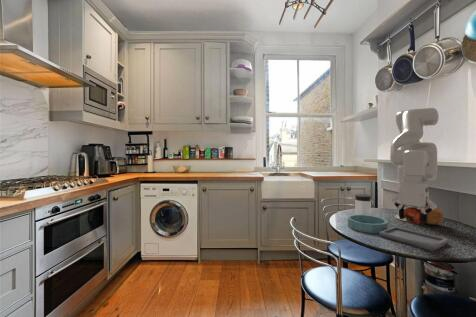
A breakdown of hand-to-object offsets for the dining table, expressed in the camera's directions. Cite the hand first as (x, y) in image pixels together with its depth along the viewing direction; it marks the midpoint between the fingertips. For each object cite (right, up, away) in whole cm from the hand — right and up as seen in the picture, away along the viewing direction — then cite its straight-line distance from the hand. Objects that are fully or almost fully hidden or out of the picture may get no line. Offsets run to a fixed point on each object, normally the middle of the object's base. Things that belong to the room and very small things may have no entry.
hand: (412, 220), depth 104 cm
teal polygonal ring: (-10, -8, +18) cm, 22 cm away
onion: (+25, -8, +22) cm, 34 cm away
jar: (-1, -7, +39) cm, 40 cm away
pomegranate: (0, -2, 0) cm, 2 cm away
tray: (0, -8, 0) cm, 8 cm away
